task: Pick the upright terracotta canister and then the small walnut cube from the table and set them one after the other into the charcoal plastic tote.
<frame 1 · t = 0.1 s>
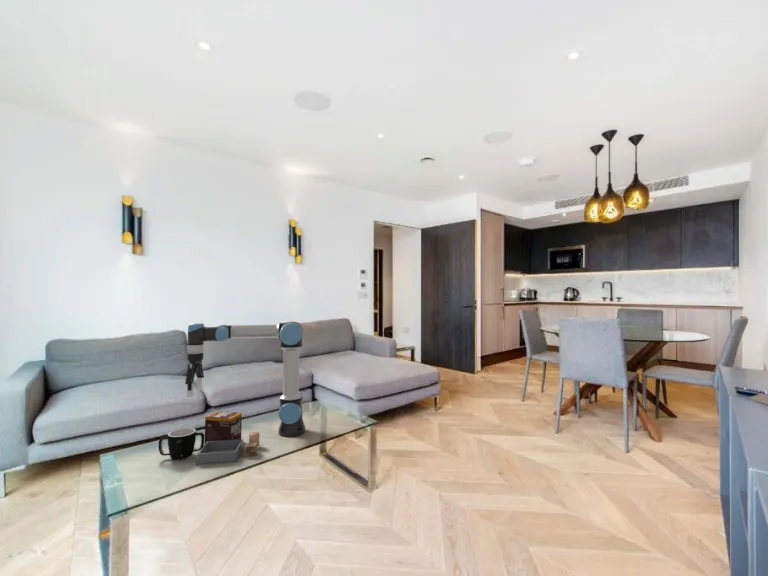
hand: (194, 393, 189), 28 cm above the table, fingers open, 13 cm apart
terracotta canister: (254, 447, 189), on the table
tote: (220, 456, 177), on the table
walnut cube: (250, 454, 180), on the table
mug: (181, 457, 177), on the table
supplement box: (223, 444, 193), on the table
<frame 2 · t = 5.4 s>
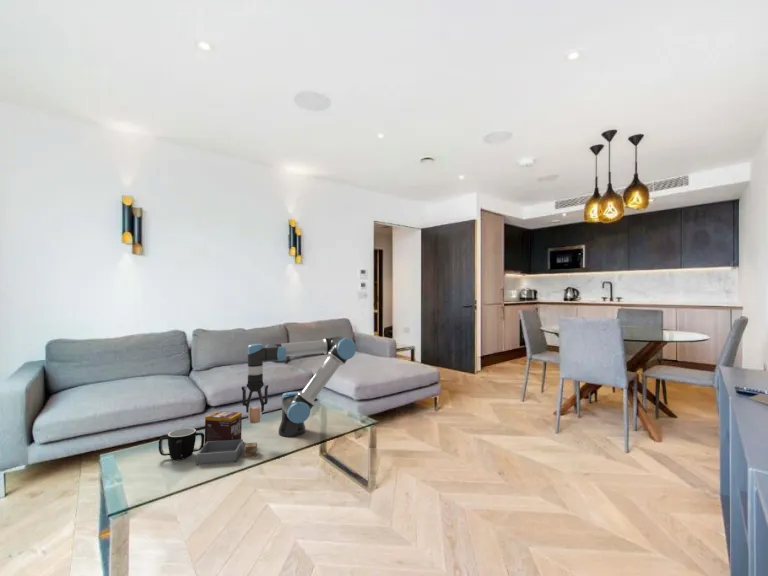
hand: (255, 418, 190), 15 cm above the table, fingers closed on terracotta canister, 5 cm apart
terracotta canister: (255, 421, 189), point 13 cm above the table, touching gripper
everything else where it was.
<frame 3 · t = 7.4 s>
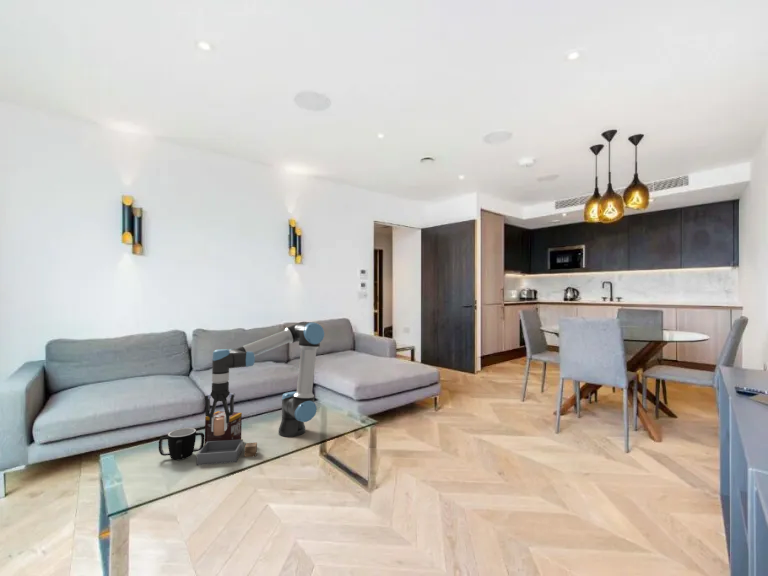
hand: (219, 430, 174), 14 cm above the table, fingers closed on terracotta canister, 5 cm apart
terracotta canister: (219, 433, 174), point 12 cm above the table, touching gripper
everything else where it was.
when the fingers open (2 cm above the table, at t = 9.9 s): terracotta canister stays where it is, resting on tote.
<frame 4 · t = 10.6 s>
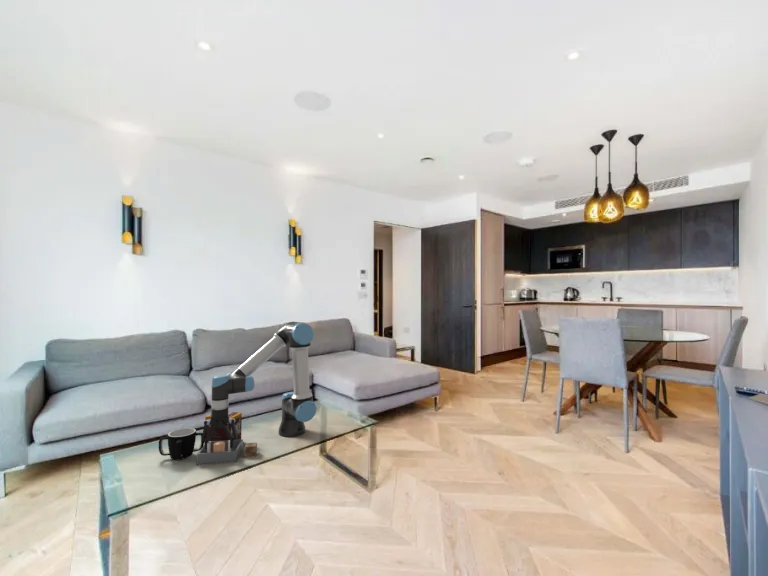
hand: (219, 455, 174), 2 cm above the table, fingers open, 9 cm apart
terracotta canister: (218, 458, 174), point 1 cm above the table, touching tote
everything else where it was.
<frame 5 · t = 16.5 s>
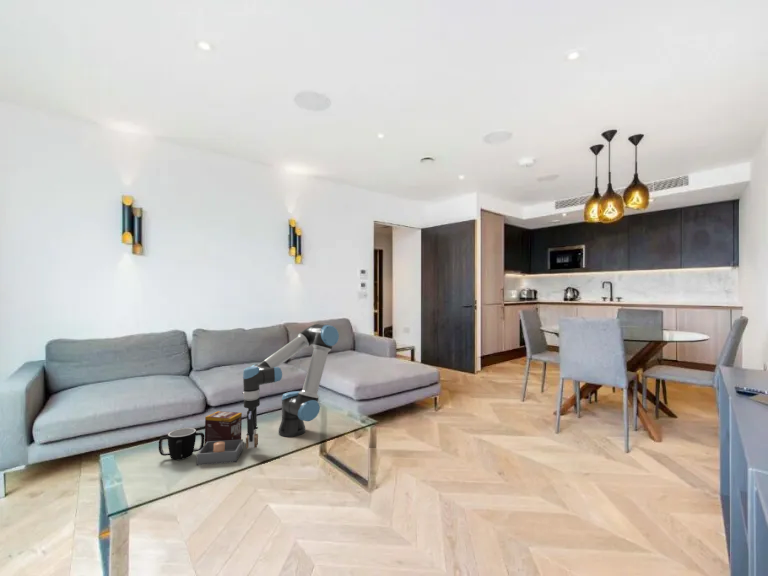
hand: (252, 444, 180), 5 cm above the table, fingers closed on walnut cube, 5 cm apart
walnut cube: (252, 446, 180), point 4 cm above the table, touching gripper
everything else where it was.
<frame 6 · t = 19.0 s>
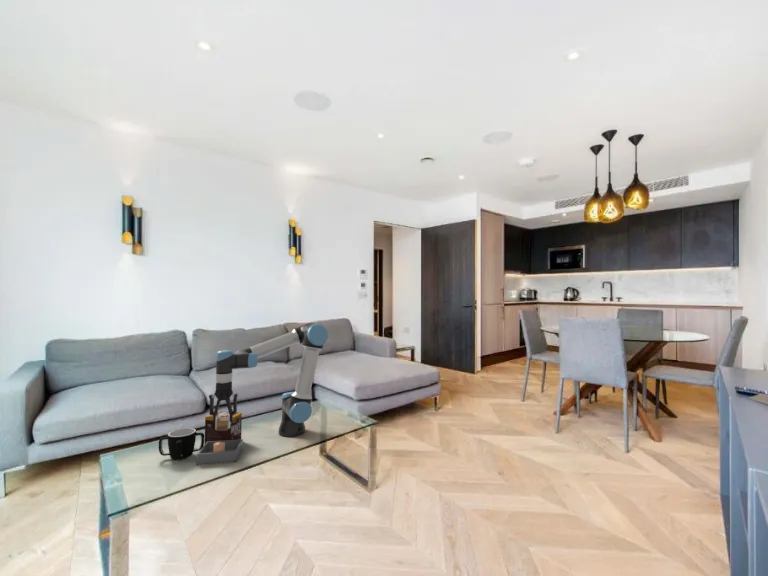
hand: (222, 428, 181), 13 cm above the table, fingers closed on walnut cube, 5 cm apart
walnut cube: (222, 428, 181), point 12 cm above the table, touching gripper
everything else where it was.
when the fingers open (1 cm above the table, at t = 21.3 s): walnut cube stays where it is, resting on tote.
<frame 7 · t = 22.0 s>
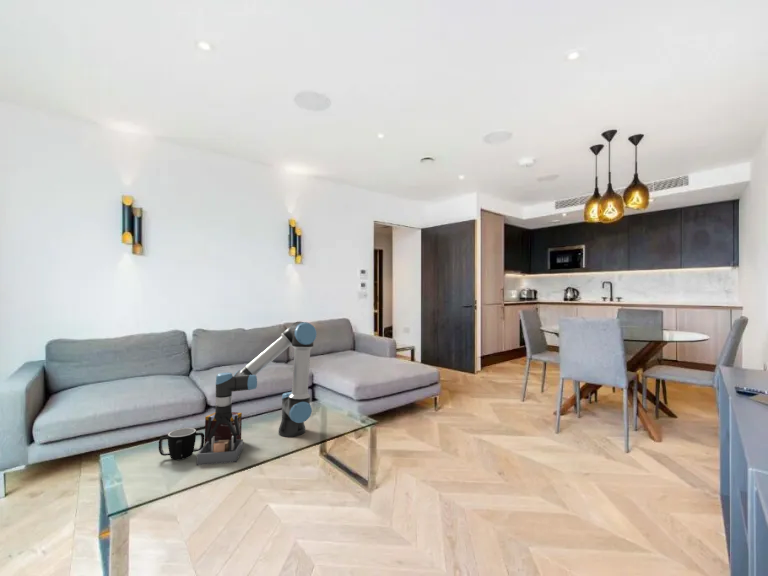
hand: (222, 449, 181), 2 cm above the table, fingers open, 9 cm apart
walnut cube: (222, 451, 181), point 1 cm above the table, touching tote
everything else where it was.
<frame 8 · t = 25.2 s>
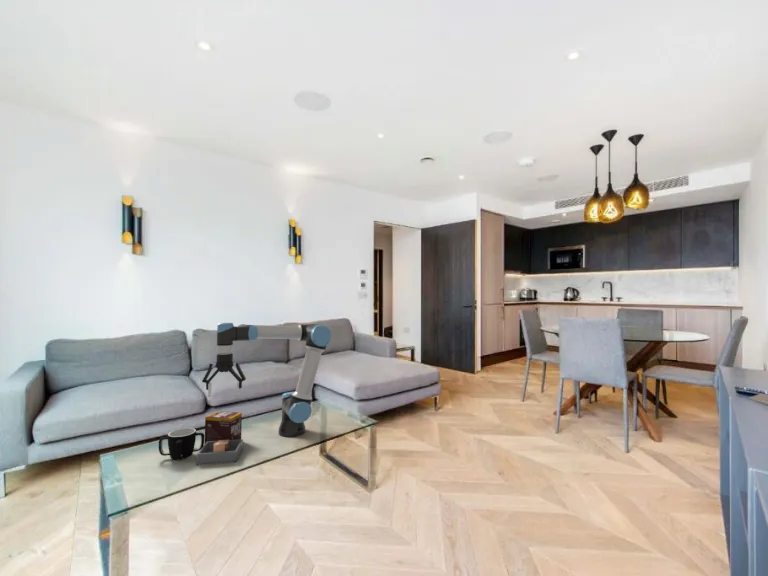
hand: (224, 395, 182), 29 cm above the table, fingers open, 13 cm apart
nothing on the table moved.
at the end: terracotta canister inside the target area on the tote (3.5 cm from its centre), point 0.8 cm above the tote's base; walnut cube inside the target area on the tote (3.7 cm from its centre), point 0.8 cm above the tote's base; the gripper is holding nothing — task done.
